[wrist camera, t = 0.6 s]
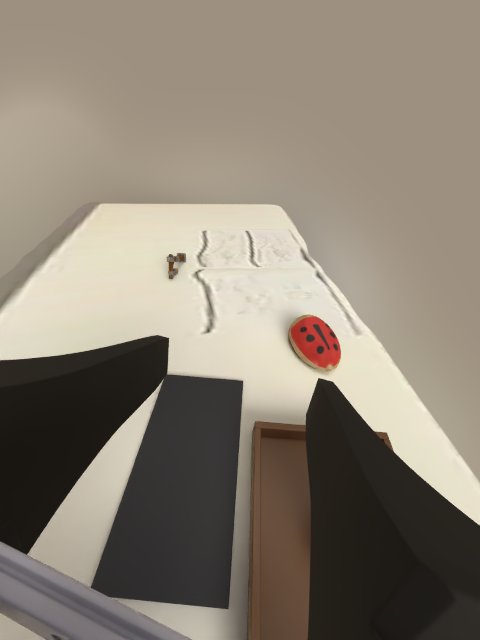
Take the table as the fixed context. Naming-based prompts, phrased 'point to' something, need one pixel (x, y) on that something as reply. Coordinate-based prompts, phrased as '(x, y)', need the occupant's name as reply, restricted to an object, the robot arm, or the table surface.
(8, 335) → the table surface
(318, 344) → the ladybug figurine
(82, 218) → the table surface
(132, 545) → the mouse pad
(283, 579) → the tray
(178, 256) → the wooden post with brackets
